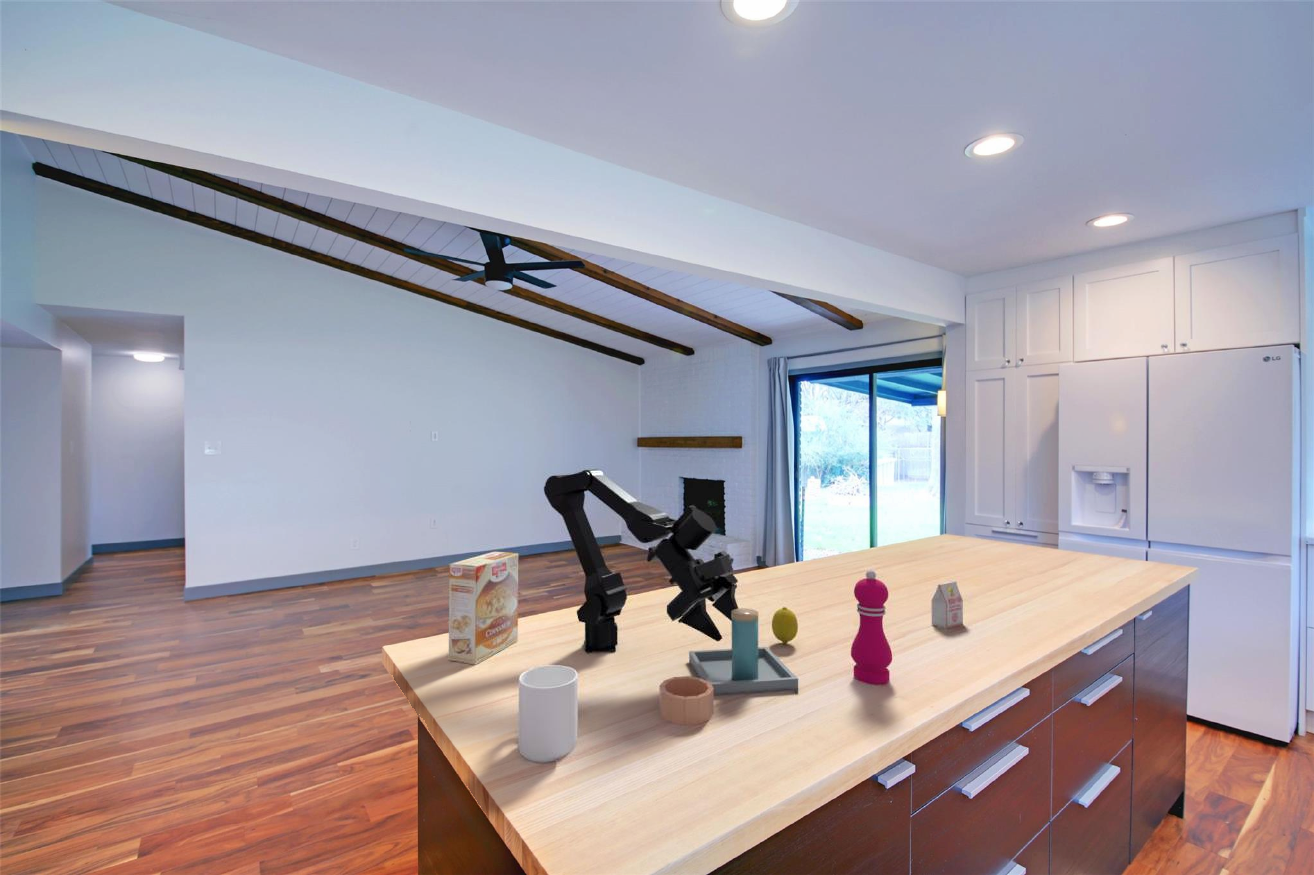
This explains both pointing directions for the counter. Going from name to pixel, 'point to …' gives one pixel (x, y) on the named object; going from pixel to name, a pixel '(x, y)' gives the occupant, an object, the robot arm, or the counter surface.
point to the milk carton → (947, 606)
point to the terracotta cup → (686, 700)
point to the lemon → (784, 625)
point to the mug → (548, 712)
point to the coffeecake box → (483, 606)
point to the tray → (719, 673)
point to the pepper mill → (871, 632)
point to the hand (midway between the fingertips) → (731, 632)
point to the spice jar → (744, 644)
